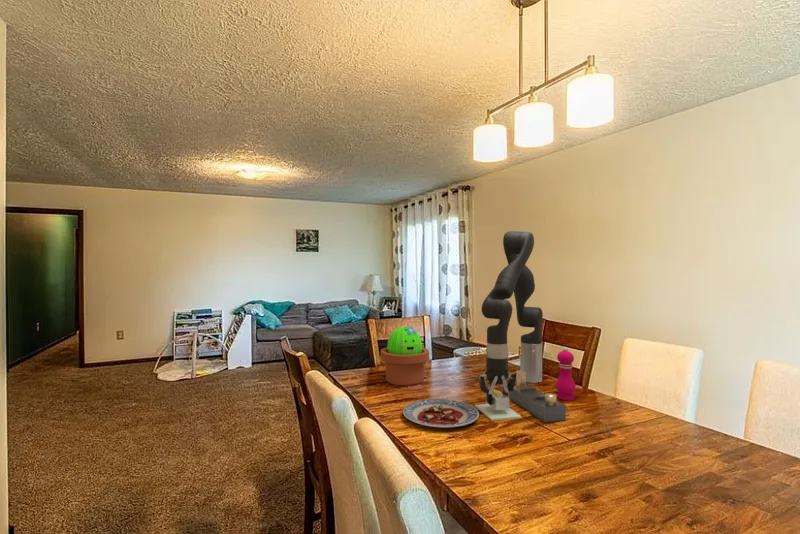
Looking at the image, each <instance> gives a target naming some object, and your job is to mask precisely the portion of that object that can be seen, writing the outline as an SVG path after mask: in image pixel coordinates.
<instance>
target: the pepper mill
mask: <svg viewBox="0 0 800 534" xmlns="http://www.w3.org/2000/svg"><path fill="white" fill-rule="evenodd" d="M556 357H557V358H556V359H557V361H558V362H559V363H558V367H559V375H558V378H557V380H556V382H555V389H556V391H557V392H556V398H557V399H559V400H561V399H562V401H566V400H567V401H568V402H569V401H570V402H571V401H574V400H575V393H574V392H575V391H577V390H576V389H577V387H576V383H575V381H574V379H573V376H572V368H573V362H574V359H575V357H574V354H573V353H572V352H570V351H569V348H568V347H566V346H564V347H563V348H562V350H561V351H559V352H558V354H557V356H556Z"/></svg>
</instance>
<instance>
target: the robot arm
mask: <svg viewBox="0 0 800 534" xmlns="http://www.w3.org/2000/svg"><path fill="white" fill-rule="evenodd" d="M502 245H503V250H504V254H505V258H506V260H507V264H508V265H506V266H505V267H504V268H503V269H502V270H501V271H500V273H499V274H498V275H497V277H496V278H497V279H495V280H496V281H495V283H494V286H493V288H492V289H491V291H490V292H489V293H488V294H487V296H486V297H485V299H484V300H483V302H482V304H481V314H482V316H483V317H484V318H486V319H489V320H498V323H497V324H494V325H493V324H492V325H489V326H487V329H486V348H485V352H486V353H485V356H486V357H485V358H486V359H485V360H486V361H485V362H486V363H485V364H486V365H485V366H486V371H485V373H483V374H478V376H477V378H478V382H479V388H480V391H481V392H483V393H484V394H485V402H486V401H487V402H488V404H490V405H492V391H493V389H495V386H497V385H500V386H501V390H502V391H501V392H502V393H503V394H504V395H506V396H507V397H509V391H513V389H514V386H515V383H516V374H515V373H513V372H509V370H508V369H509V348H508V330H509V325H510V321H511V318H512V315H513V305H512V303H511V302H510V301H509V300H508V299H510V298H511V297H512V296H513V295H514V300H515V310H516V321H517V323H518V325H519V326H520V327H523V328H533V330H532V331H531V332H528V333H525V334H522V335H521V336H520V358H519V370H523V371H525V372H526V383H532V384H538V382H539V383H542V382H543V319H544V318H543V317H544V316H543V315H544V312H543V309H542V308H541V307H538V306H525V304H526V303H527V301H528V300H529V299H530V298H531V296H532V295H533V293H534V292H535V289H536V285H535V284H536V283H535V277H534V274H533V272H532V271H531V269H530V268H529V267H528V266H527V265H526V264H527V263H528V260H529V258H530V256H531V254H532V252H533V249H534V245H535V237H534V235H533V233H532V232H529V231H521V230H519V231H517V230H509V231H506V232H505V233H504V235H503V239H502ZM507 379H508V380H507ZM486 380H488V381H486ZM486 382H487V383H486Z"/></svg>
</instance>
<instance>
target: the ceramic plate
mask: <svg viewBox="0 0 800 534" xmlns="http://www.w3.org/2000/svg"><path fill="white" fill-rule="evenodd" d="M402 413H403V416H404V417H405V418H406V419H408V420H409V421H410V422H412V423H415V424H419V425H421V426H426V427H432V428H456V427H463V426H467V425H469V424H472V423H474V422H475V421H476V420H478V418H479V415H480V411H479V410H478V409H477V408H476V407H475V406H472V405H471V404H469V403H466V402H463V401H459V400H453V399H446V398H427V399H421V400H416V401H414V402H410V403H409V404H407V405H406V406H405V407H404V408H403V409H402Z"/></svg>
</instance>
